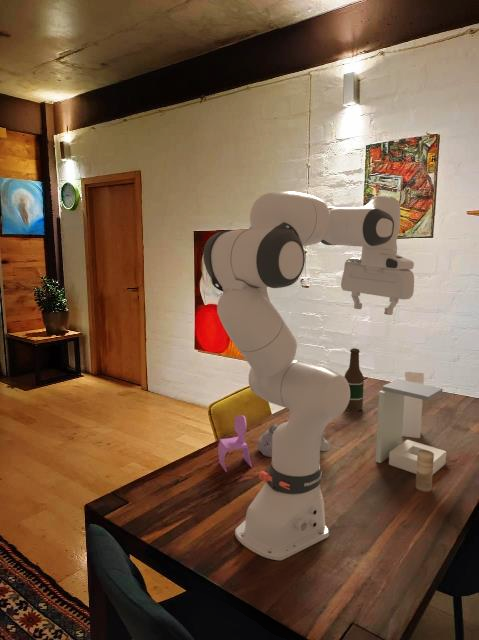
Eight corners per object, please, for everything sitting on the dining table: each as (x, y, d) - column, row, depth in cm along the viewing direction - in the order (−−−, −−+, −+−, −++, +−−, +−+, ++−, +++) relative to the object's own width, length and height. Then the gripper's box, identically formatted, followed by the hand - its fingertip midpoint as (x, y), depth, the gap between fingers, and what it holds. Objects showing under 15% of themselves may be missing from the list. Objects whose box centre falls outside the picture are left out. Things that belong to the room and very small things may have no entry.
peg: (427, 493, 123) (430, 458, 121) (413, 487, 126) (415, 453, 124) (433, 487, 126) (436, 453, 124) (419, 482, 129) (421, 448, 127)
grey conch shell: (279, 470, 141) (272, 441, 138) (253, 456, 150) (246, 429, 147) (305, 448, 148) (299, 420, 144) (279, 437, 157) (273, 410, 153)
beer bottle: (339, 405, 189) (341, 347, 185) (356, 403, 191) (358, 346, 187) (349, 411, 182) (351, 352, 178) (366, 409, 184) (369, 350, 180)
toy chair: (216, 461, 141) (215, 414, 139) (243, 456, 145) (243, 410, 142) (225, 474, 134) (224, 424, 131) (253, 468, 137) (253, 420, 134)
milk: (420, 438, 157) (424, 375, 153) (401, 436, 159) (405, 374, 155) (419, 431, 163) (424, 370, 159) (401, 429, 165) (405, 369, 161)
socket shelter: (427, 479, 130) (432, 400, 126) (375, 461, 141) (379, 387, 137) (446, 462, 140) (452, 388, 136) (396, 446, 151) (400, 377, 147)
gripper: (338, 257, 129) (334, 306, 131) (407, 263, 114) (400, 318, 116) (352, 257, 133) (347, 305, 135) (420, 263, 118) (413, 316, 120)
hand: (372, 311), depth 126 cm, fingers open, 8 cm apart
